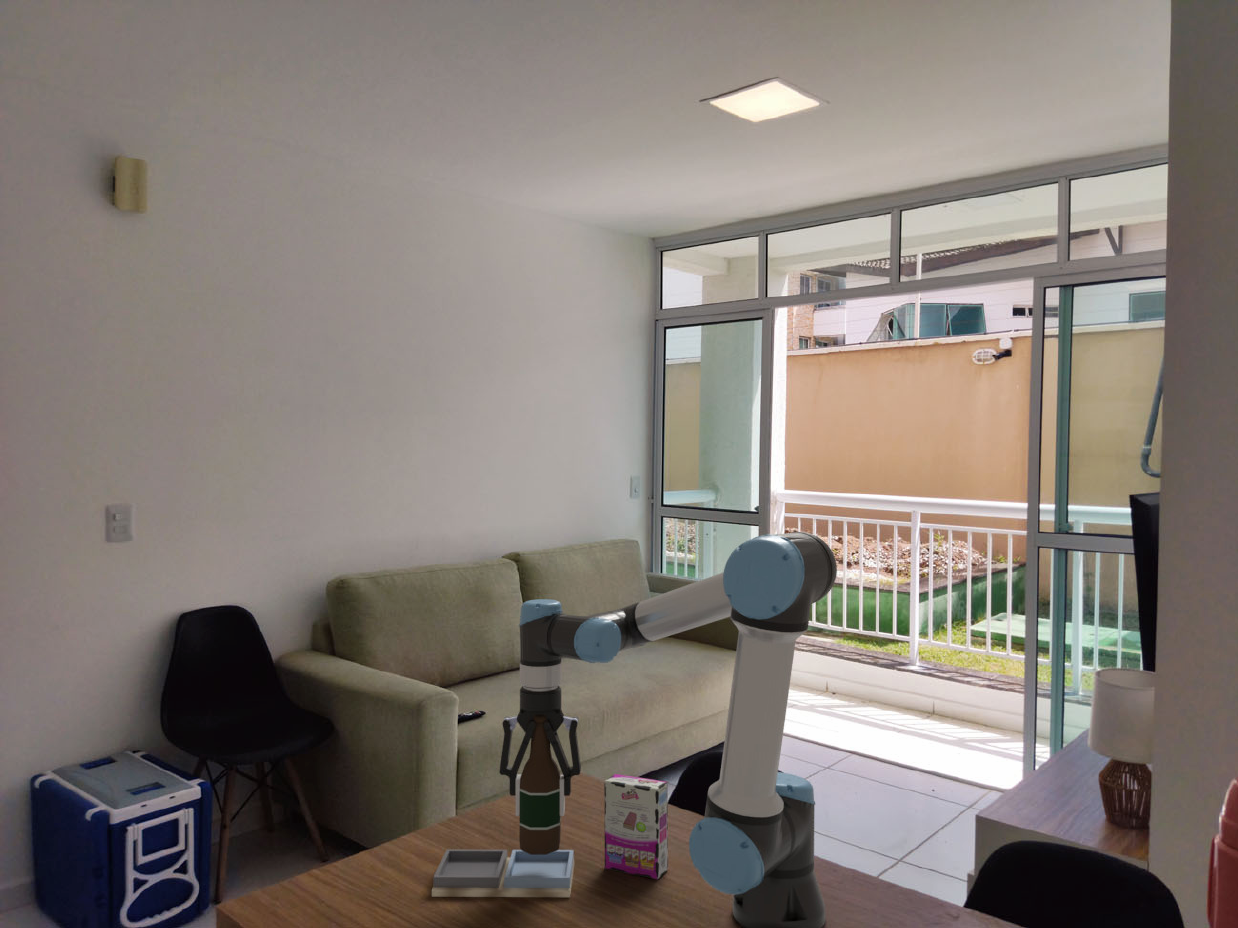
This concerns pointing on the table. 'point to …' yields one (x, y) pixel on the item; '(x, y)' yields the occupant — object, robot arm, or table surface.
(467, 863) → the tray
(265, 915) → the table surface
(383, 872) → the table surface
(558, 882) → the light blue shallow tray
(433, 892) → the board
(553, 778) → the beer bottle
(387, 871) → the table surface
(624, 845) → the candy bar box
